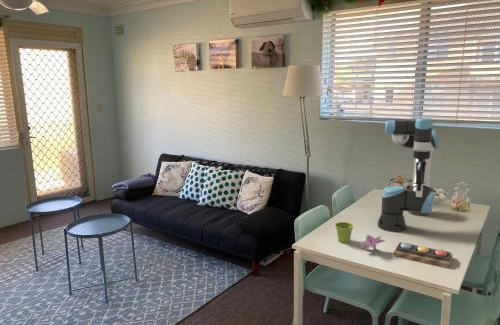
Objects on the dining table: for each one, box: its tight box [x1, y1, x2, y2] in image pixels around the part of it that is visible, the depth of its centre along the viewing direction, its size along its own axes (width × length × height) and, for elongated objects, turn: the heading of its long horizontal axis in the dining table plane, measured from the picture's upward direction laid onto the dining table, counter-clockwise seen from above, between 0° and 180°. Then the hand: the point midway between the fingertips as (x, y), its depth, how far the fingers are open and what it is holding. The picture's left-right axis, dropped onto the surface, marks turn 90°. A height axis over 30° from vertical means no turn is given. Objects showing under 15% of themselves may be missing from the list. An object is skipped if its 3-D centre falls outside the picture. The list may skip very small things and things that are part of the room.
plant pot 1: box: [334, 221, 354, 244], centre depth 195 cm, size 9×9×9 cm
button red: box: [435, 249, 448, 257], centre depth 170 cm, size 5×5×2 cm
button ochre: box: [417, 245, 430, 253], centre depth 174 cm, size 5×5×2 cm
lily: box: [359, 234, 386, 255], centre depth 181 cm, size 12×12×10 cm
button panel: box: [393, 241, 454, 269], centre depth 175 cm, size 23×12×4 cm, turn 56°
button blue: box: [401, 242, 413, 250], centre depth 179 cm, size 5×5×2 cm
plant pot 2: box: [404, 184, 435, 217], centre depth 234 cm, size 16×16×16 cm
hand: (418, 196), depth 186 cm, fingers closed
